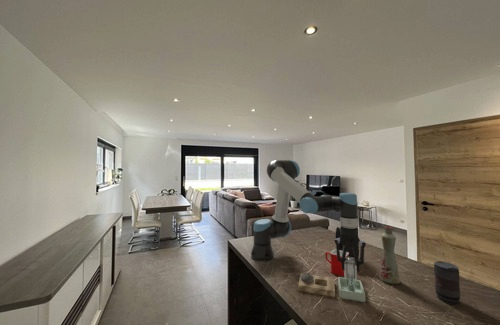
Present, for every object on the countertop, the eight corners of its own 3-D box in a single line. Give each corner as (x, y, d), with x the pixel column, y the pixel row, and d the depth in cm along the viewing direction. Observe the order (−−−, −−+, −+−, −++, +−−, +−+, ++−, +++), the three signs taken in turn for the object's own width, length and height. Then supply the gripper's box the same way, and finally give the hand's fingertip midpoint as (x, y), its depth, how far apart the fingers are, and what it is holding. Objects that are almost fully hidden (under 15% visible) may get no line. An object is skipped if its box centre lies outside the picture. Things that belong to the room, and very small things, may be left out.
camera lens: (430, 294, 93) (428, 261, 94) (446, 293, 94) (445, 260, 95) (448, 306, 85) (447, 269, 86) (466, 305, 86) (464, 268, 87)
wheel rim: (359, 267, 121) (358, 232, 121) (342, 265, 122) (342, 231, 123) (350, 253, 140) (349, 224, 141) (335, 252, 142) (335, 223, 143)
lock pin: (345, 291, 94) (344, 260, 94) (344, 286, 98) (343, 256, 99) (357, 293, 92) (356, 261, 93) (355, 287, 97) (354, 257, 97)
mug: (350, 272, 115) (349, 252, 115) (345, 277, 109) (344, 257, 109) (328, 265, 123) (328, 247, 123) (323, 270, 117) (322, 251, 117)
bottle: (401, 287, 99) (399, 228, 101) (379, 282, 104) (377, 226, 105) (399, 279, 107) (397, 224, 108) (379, 275, 112) (377, 222, 113)
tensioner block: (298, 290, 97) (298, 281, 98) (301, 277, 109) (301, 269, 109) (335, 297, 92) (334, 287, 92) (333, 283, 103) (333, 274, 103)
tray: (339, 298, 91) (339, 289, 91) (338, 284, 103) (338, 276, 103) (365, 302, 88) (365, 294, 88) (360, 287, 99) (360, 280, 99)
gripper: (330, 226, 96) (331, 278, 95) (371, 230, 90) (372, 285, 89) (329, 223, 103) (331, 271, 102) (367, 225, 97) (369, 276, 96)
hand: (350, 277), depth 96 cm, fingers closed on lock pin, 4 cm apart
